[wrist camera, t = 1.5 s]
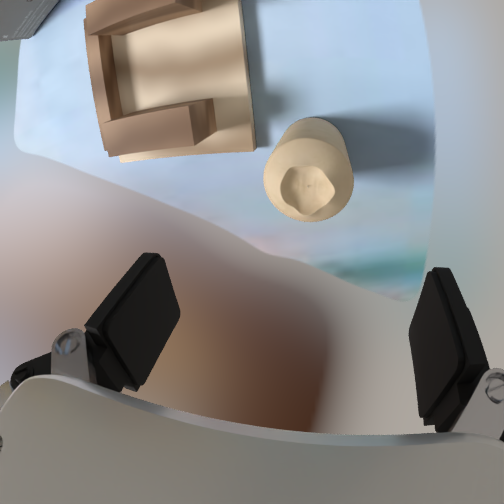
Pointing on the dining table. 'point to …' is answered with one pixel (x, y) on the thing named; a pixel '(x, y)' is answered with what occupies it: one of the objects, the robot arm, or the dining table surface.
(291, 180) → the candle
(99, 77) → the holder
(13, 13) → the skincare box
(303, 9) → the dining table surface
